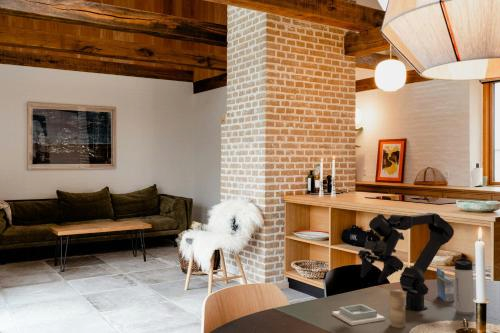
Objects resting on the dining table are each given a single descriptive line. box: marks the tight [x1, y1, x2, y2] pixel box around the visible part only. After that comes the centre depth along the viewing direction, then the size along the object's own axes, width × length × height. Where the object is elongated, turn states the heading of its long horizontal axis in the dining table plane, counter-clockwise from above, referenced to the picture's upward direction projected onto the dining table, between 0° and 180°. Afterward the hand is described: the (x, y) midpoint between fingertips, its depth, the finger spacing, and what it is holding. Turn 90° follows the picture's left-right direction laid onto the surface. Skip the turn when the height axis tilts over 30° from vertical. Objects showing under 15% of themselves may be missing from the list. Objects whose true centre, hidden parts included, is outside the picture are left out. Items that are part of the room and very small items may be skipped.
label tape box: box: [436, 267, 455, 303], centre depth 199 cm, size 9×4×12 cm, turn 179°
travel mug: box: [454, 257, 475, 316], centre depth 180 cm, size 6×7×20 cm
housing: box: [331, 303, 386, 326], centre depth 179 cm, size 14×14×3 cm
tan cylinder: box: [389, 289, 407, 329], centre depth 168 cm, size 5×5×12 cm
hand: (370, 279), depth 176 cm, fingers open, 9 cm apart
